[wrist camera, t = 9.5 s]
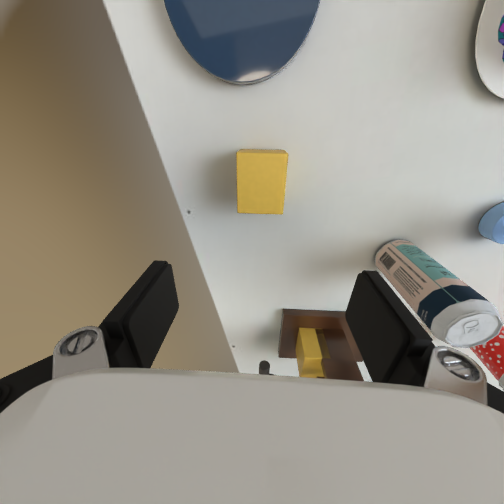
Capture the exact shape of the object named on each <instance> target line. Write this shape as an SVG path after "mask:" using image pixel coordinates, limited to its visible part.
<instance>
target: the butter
mask: <svg viewBox="0 0 504 504" xmlns="http://www.w3.org/2000/svg"><path fill="white" fill-rule="evenodd" d="M315 329H317V330H318V328H299V332H298V337H297V343H296V356H297V363H298V370H299V376H300V377H307V378H317V376H319V377H324V374H323V370H322V366H321V360H322V358H323V356H322V354H321V353H322V352H323V351H324V350H325V351H326V352H327V350H326V349H325V347H326V345H327V344H326V345H325V343H324V344H323V345H325V347H323V346H322V344H321V346H322V348H321V350H322V349H323V348H324V350H322V351H321V350H320V347H319V344H320V343H321V342H320V341H321V340H325V339H324V338H321V339H320V337H319V338H318V339H317V336H318V335H316V331H315ZM320 330H321V329H320ZM321 331H323V330H321ZM319 334H320V333H319ZM320 335H322V336H323V337H324V334H322V333H321V334H320ZM319 339H320V340H319ZM318 340H319V342H318ZM325 341H326V340H325ZM325 341H323V342H325ZM326 348H328V347H326ZM328 351H329V350H328ZM326 352H325V353H326ZM325 353H324V352H323V354H325ZM327 353H328V352H327ZM327 353H326V354H327ZM326 354H325V355H326ZM325 355H324V356H325ZM327 355H328V356H329V357H330V355H329V354H327ZM328 356H326V357H327V358H328ZM324 358H325V357H324Z"/></svg>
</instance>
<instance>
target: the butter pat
mask: <svg viewBox="0 0 504 504" xmlns="http://www.w3.org/2000/svg"><path fill="white" fill-rule="evenodd" d="M236 158H237V212H238V213H254V214H283V207H284V196H285V185H286V174H287V163H288V153H287V152H286V151H285V150H262V149H240V150H239V151H238V152H237V153H236Z"/></svg>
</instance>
